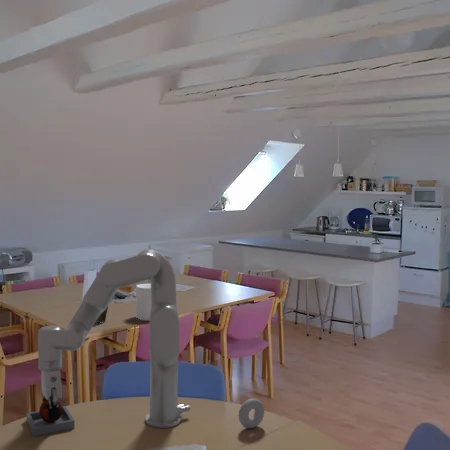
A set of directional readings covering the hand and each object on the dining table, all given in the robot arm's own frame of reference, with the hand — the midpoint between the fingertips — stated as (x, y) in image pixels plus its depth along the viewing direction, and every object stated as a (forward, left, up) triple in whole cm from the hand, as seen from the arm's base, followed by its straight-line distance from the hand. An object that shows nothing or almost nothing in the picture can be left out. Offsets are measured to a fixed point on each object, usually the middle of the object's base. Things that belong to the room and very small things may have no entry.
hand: (50, 413), depth 172 cm
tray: (0, 0, -4) cm, 4 cm away
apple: (0, 0, -3) cm, 3 cm away
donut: (-59, +34, -4) cm, 68 cm away
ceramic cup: (-54, -124, -4) cm, 135 cm away
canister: (-85, -123, -4) cm, 150 cm away
